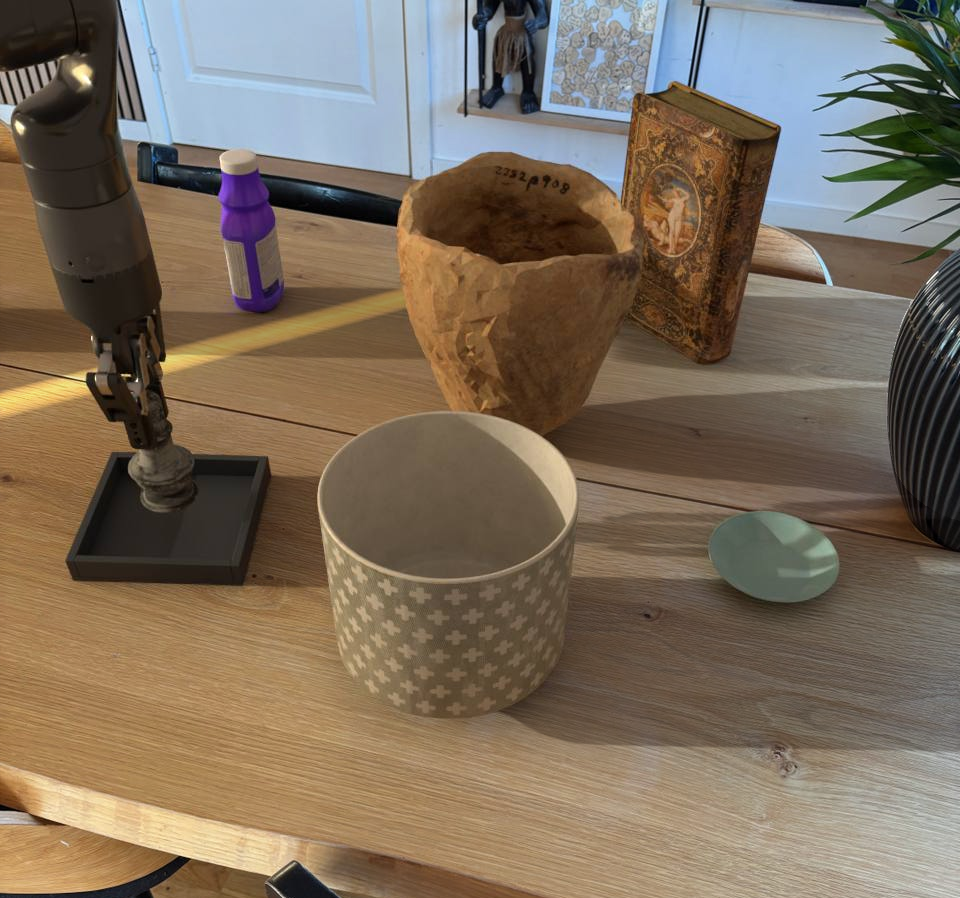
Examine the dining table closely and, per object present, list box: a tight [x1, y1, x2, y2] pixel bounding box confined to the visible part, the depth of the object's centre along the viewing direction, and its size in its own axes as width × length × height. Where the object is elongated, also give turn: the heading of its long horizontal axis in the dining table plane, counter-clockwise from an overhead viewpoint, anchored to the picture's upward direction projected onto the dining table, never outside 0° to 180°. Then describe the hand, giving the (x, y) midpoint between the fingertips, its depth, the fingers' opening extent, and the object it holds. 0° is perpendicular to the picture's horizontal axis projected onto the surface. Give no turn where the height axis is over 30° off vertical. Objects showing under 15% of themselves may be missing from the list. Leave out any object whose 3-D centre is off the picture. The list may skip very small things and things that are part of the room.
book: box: [620, 80, 782, 365], centre depth 112 cm, size 16×6×25 cm, turn 38°
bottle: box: [218, 148, 285, 313], centre depth 118 cm, size 7×6×17 cm
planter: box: [316, 410, 580, 720], centre depth 80 cm, size 19×19×18 cm
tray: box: [64, 451, 272, 586], centre depth 96 cm, size 16×16×2 cm
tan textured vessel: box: [396, 151, 645, 437], centre depth 98 cm, size 22×22×25 cm
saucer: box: [707, 510, 840, 603], centre depth 93 cm, size 12×12×2 cm
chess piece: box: [128, 390, 198, 513], centre depth 90 cm, size 6×6×12 cm
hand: (150, 431), depth 89 cm, fingers closed on chess piece, 3 cm apart
